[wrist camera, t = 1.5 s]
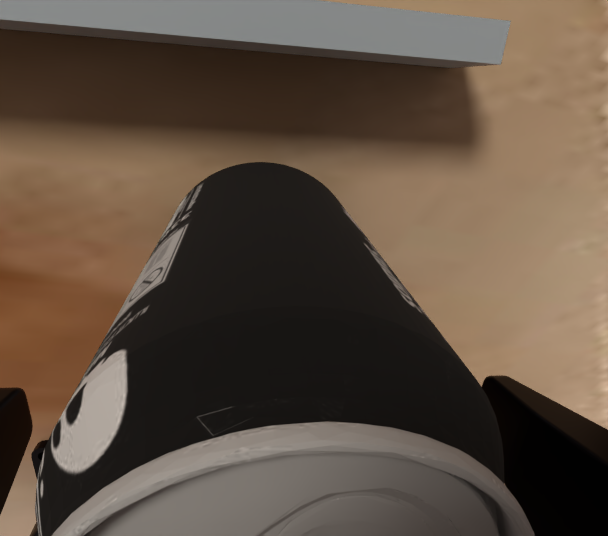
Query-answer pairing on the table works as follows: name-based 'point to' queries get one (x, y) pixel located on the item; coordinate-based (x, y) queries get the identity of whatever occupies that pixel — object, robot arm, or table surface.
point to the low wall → (274, 28)
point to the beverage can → (273, 388)
